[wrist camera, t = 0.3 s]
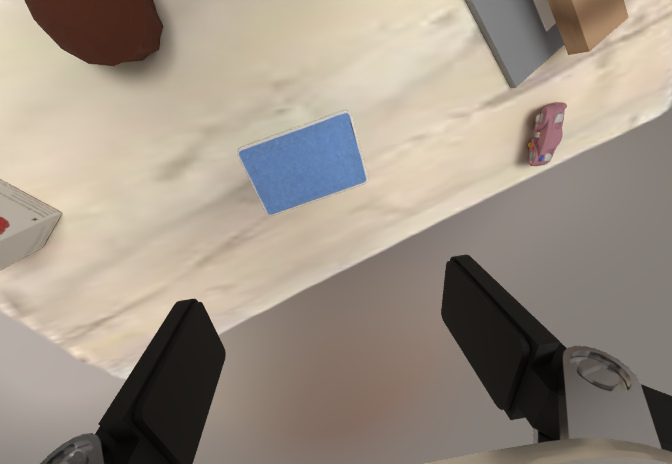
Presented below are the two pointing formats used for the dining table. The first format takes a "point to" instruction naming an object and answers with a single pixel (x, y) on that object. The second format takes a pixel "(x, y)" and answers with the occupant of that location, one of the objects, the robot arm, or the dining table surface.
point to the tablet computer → (305, 163)
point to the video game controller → (546, 134)
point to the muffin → (100, 28)
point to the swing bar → (586, 21)
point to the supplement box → (22, 224)
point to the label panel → (517, 34)
